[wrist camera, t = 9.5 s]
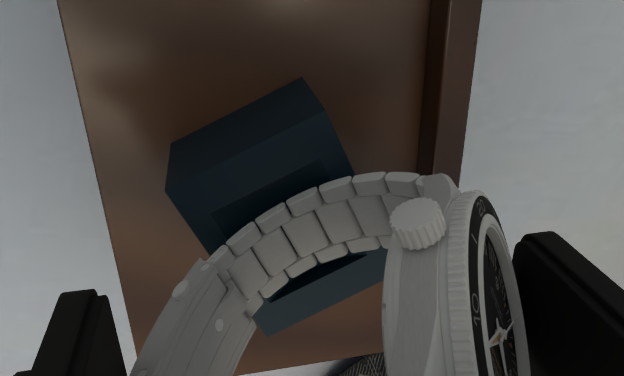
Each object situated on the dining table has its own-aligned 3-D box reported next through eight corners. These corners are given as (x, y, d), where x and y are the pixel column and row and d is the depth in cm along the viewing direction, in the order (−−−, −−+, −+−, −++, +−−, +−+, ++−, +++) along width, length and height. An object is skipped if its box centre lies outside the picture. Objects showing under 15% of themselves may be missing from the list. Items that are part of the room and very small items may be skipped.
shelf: (94, -91, 19) (15, -108, 11) (381, -94, 21) (497, -110, 13) (159, 267, 26) (141, 417, 18) (367, 241, 28) (436, 368, 20)
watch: (420, 193, 17) (692, 517, 8) (211, 297, 18) (225, 735, 8) (361, 43, 15) (666, 257, 5) (115, 168, 15) (-34, 596, 5)
